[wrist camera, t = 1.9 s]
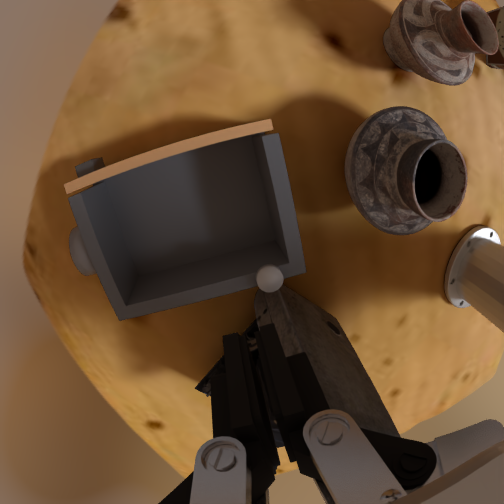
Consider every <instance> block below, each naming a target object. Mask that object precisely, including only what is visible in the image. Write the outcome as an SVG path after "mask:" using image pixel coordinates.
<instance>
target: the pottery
mask: <svg viewBox="0 0 504 504" xmlns="http://www.w3.org/2000/svg"><path fill="white" fill-rule="evenodd" d="M383 43H384V47H385V49H386V52H387V53H388V55H389V57H390V58H391V60H392V61H393V62H394V63H395V64H396V65H398V66H399V67H400V68H401V69H403V70H406V71H409V72H415V73H416V74H418V75H420V76H421V77H424V78H426V79H428V80H431V81H434V82H437V83H441V84H445V85H460V84H462V83H464V82H466V81H467V80H468V79H469V78H470V76H471V74H472V71H473V67H474V62H475V53H483V54H488V55H493V54H495V53H496V52H497V50H498V45H499V41H498V35H497V31H496V29H495V26H494V24H493V22H492V20H491V19H490V17H489V16H488V14H487V13H486V12H485V11H484V10H483V9H482V8H481V7H480V6H479V5H478V4H476V3H475V2H473V1H469V0H465V1H463V2H461V3H460V4H459V5H458V6H457V7H455V8H454V9H451V8H450V7H449V6H447V5H446V4H445V3H444V2H442V1H440V0H402V1H401V2H400V4H399V5H398V7H397V8H396V10H395V11H394V14H393V15H392V18H391V21H390V27H389V28H388V29H387V30H386V31H385V33H384V37H383ZM345 179H346V184H347V187H348V191H349V194H350V196H351V199H352V201H353V203H354V204H355V206H356V207H357V209H358V210H359V212H360V213H361V214H362V215H363V216H364V218H365V219H366V220H367V221H368V222H369V223H371V224H372V225H373V226H375V227H376V228H378V229H379V230H381V231H383V232H386V233H388V234H393V235H409V234H413V233H416V232H418V231H420V230H422V229H424V228H425V227H427V226H428V225H430V224H431V223H432V222H433V221H434V222H441V221H444V220H446V219H448V218H450V217H451V216H452V215H454V214H455V213H456V212H457V210H458V209H459V207H460V206H461V204H462V201H463V199H464V196H465V192H466V187H467V169H466V165H465V161H464V158H463V156H462V154H461V152H460V151H459V149H458V148H457V147H456V146H455V145H454V144H453V143H452V142H450V141H448V140H447V138H446V136H445V134H444V133H443V131H442V129H441V128H440V127H439V125H438V124H437V123H436V122H435V121H434V120H433V119H432V118H431V117H429V116H428V115H427V114H425V113H423V112H422V111H420V110H417V109H414V108H411V107H404V106H398V107H390V108H387V109H383V110H380V111H378V112H376V113H374V114H373V115H371V116H370V117H369V118H367V119H366V120H365V121H364V122H363V123H362V124H361V125H360V126H359V127H358V129H357V130H356V131H355V133H354V135H353V137H352V138H351V140H350V143H349V146H348V149H347V153H346V158H345Z"/></svg>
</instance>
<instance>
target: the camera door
mask: <svg viewBox="0 0 504 504" xmlns="http://www.w3.org/2000/svg"><path fill="white" fill-rule="evenodd" d="M270 130H273V126H272V121H271V119H267V120H262V121H257V122H253V123H248V124H244V125H240V126H235V127H231V128H227V129H223V130H219V131H215V132H211V133H208V134H204V135H200V136H197V137H193V138H190V139H186V140H183V141H179V142H176V143H173V144H170V145H166V146H163V147H160V148H157V149H154V150H151V151H148V152H145V153H142V154H139V155H136V156H134V157H131V158H128V159H125V160H123V161H120V162H117V163H114V164H112V165H109V166H107V167H105V165H104V162H103V158H102V157H101V158H96V159H92V160H89V161H87V162H84V163H82V164H80V165H78V166H75V169H76V172H77V176H78V178H77V179H75V180H73V181H70V182H68V183H66V184H64V187H65V190H66V193H67V194H69V193H71V192H74V191H76V190H78V189H81V188H83V187H86V186H88V185H91V184H93V183H96V182H98V181H101V180H103V179H106V178H109V177H111V176H114V175H117V174H119V173H122V172H125V171H128V170H130V169H133V168H136V167H139V166H142V165H145V164H148V163H151V162H154V161H157V160H160V159H163V158H166V157H169V156H173V155H176V154H179V153H183V152H186V151H189V150H193V149H196V148H200V147H204V146H207V145H211V144H215V143H219V142H222V141H226V140H230V139H234V138H238V137H243V136H247V135H251V134H256V133H260V132H265V131H270Z"/></svg>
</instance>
